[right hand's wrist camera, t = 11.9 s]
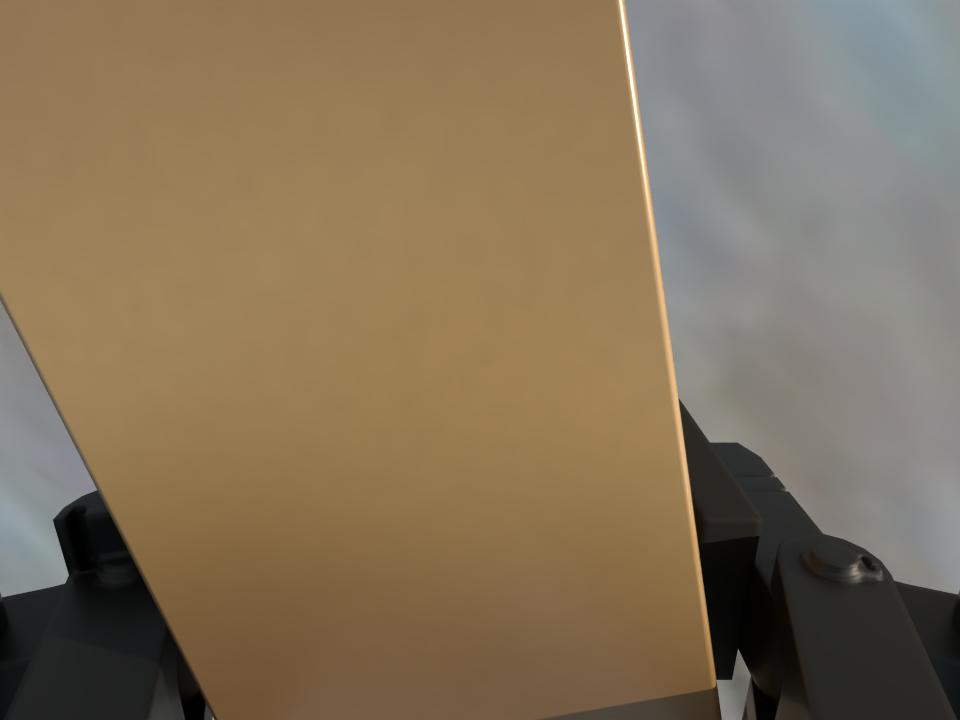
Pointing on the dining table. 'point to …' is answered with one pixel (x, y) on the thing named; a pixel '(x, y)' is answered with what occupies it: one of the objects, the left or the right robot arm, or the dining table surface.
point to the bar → (364, 346)
